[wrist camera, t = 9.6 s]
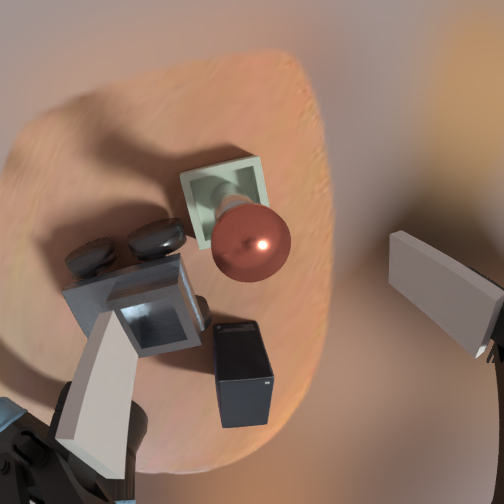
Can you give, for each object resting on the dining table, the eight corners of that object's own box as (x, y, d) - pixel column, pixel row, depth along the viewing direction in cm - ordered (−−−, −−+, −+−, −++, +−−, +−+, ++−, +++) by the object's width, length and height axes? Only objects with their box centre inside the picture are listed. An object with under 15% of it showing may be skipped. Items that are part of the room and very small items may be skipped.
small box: (210, 323, 36) (216, 381, 27) (258, 319, 37) (277, 375, 28) (213, 375, 40) (220, 430, 31) (254, 372, 41) (269, 424, 32)
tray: (199, 240, 32) (199, 250, 29) (181, 172, 28) (179, 175, 26) (267, 222, 32) (273, 231, 30) (253, 154, 29) (259, 156, 26)
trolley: (113, 325, 34) (95, 383, 24) (76, 246, 29) (36, 290, 19) (210, 303, 35) (217, 362, 25) (182, 213, 30) (175, 250, 20)
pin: (210, 225, 30) (222, 290, 17) (200, 182, 28) (202, 218, 15) (253, 214, 31) (295, 271, 18) (244, 172, 29) (284, 198, 16)
